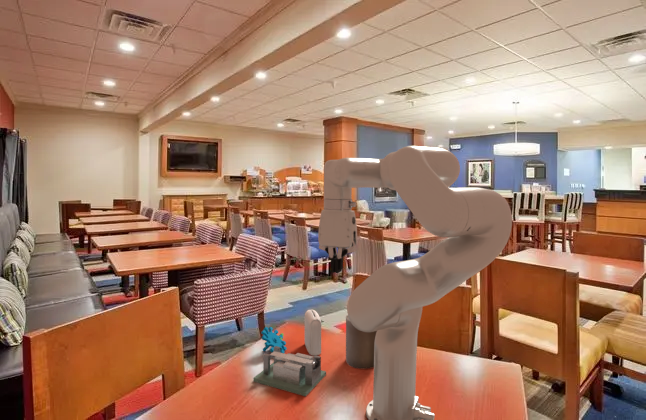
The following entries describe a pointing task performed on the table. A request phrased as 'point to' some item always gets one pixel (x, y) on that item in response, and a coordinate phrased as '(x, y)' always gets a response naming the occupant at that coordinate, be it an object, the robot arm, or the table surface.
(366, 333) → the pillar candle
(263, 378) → the board
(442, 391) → the table surface
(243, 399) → the table surface
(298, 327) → the table surface
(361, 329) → the robot arm
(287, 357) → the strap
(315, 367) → the grey block frame
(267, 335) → the gear
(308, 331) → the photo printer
